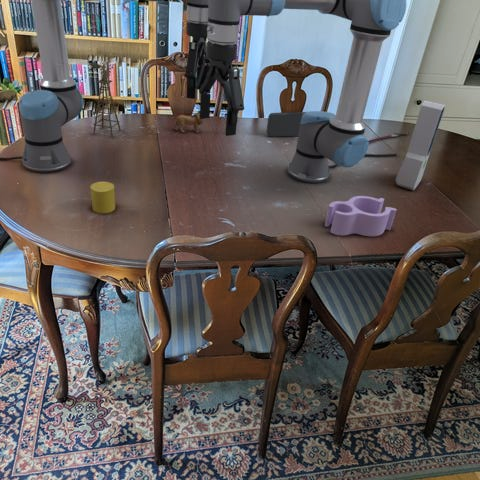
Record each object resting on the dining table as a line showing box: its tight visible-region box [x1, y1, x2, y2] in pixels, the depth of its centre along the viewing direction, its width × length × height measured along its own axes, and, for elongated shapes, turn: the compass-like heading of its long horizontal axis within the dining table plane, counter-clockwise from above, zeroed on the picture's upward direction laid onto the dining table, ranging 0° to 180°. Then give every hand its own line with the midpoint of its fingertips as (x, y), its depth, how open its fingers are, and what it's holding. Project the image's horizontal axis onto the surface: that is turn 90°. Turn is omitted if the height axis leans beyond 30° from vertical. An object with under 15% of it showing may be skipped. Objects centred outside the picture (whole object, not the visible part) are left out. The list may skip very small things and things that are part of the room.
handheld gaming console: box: [266, 111, 307, 137], centre depth 203 cm, size 23×3×10 cm, turn 108°
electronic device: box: [395, 100, 447, 191], centre depth 166 cm, size 12×8×30 cm, turn 148°
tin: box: [90, 181, 116, 214], centre depth 137 cm, size 7×7×7 cm
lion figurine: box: [171, 109, 207, 134], centre depth 196 cm, size 15×5×9 cm, turn 110°
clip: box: [324, 195, 398, 237], centre depth 141 cm, size 20×12×7 cm, turn 109°
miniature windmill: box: [91, 55, 122, 138], centre depth 181 cm, size 9×8×30 cm
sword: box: [368, 132, 410, 144], centre depth 213 cm, size 31×3×1 cm, turn 126°
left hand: (195, 92), depth 152 cm, fingers open, 13 cm apart
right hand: (217, 126), depth 125 cm, fingers open, 13 cm apart
